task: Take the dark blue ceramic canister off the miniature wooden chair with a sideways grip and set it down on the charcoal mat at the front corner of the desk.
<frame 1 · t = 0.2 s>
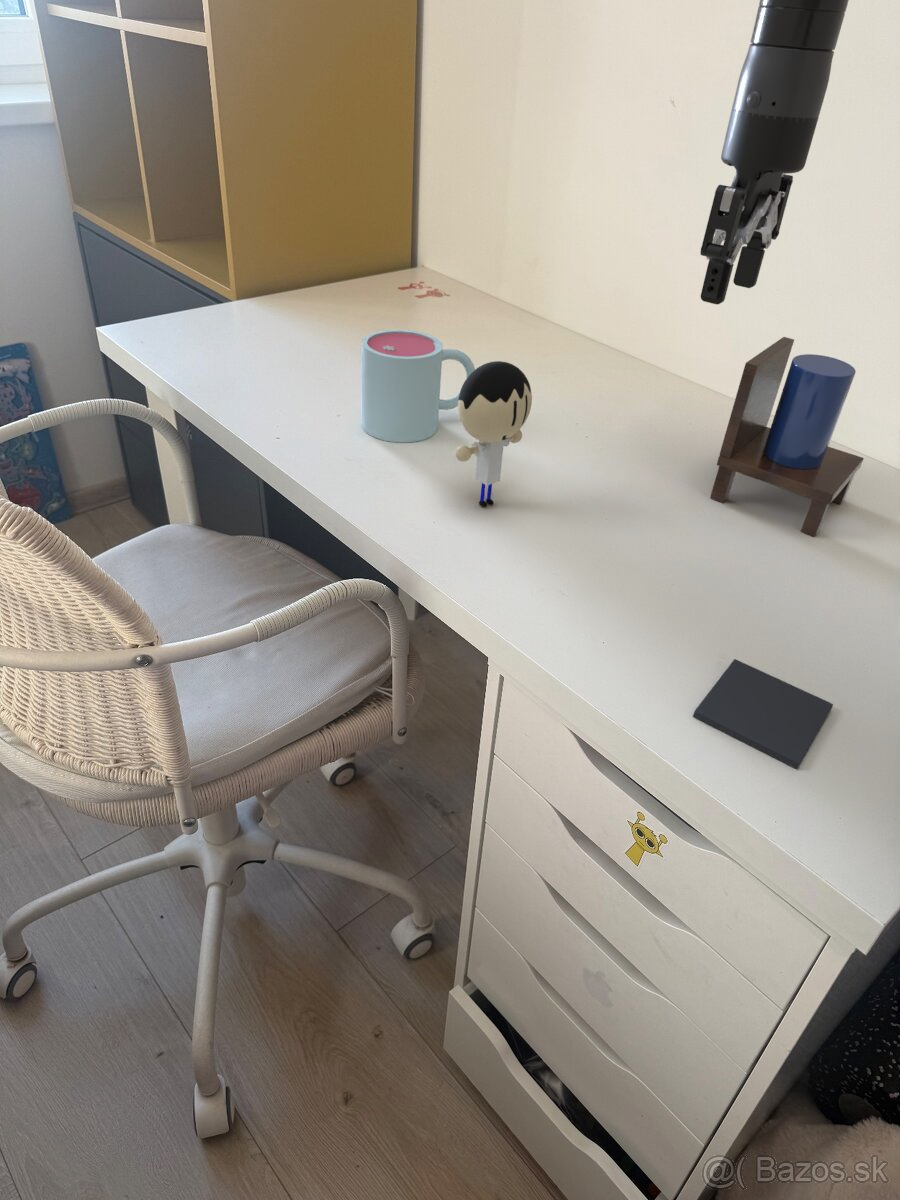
hand: (728, 293, 83), 20 cm above the table, tool pointing down, fingers open, 8 cm apart
toy: (484, 505, 86), on the table
mug: (418, 425, 100), on the table
mat: (762, 713, 63), on the table
canister: (792, 456, 88), point 5 cm above the table, touching miniature wooden chair
miniature wooden chair: (777, 499, 91), on the table
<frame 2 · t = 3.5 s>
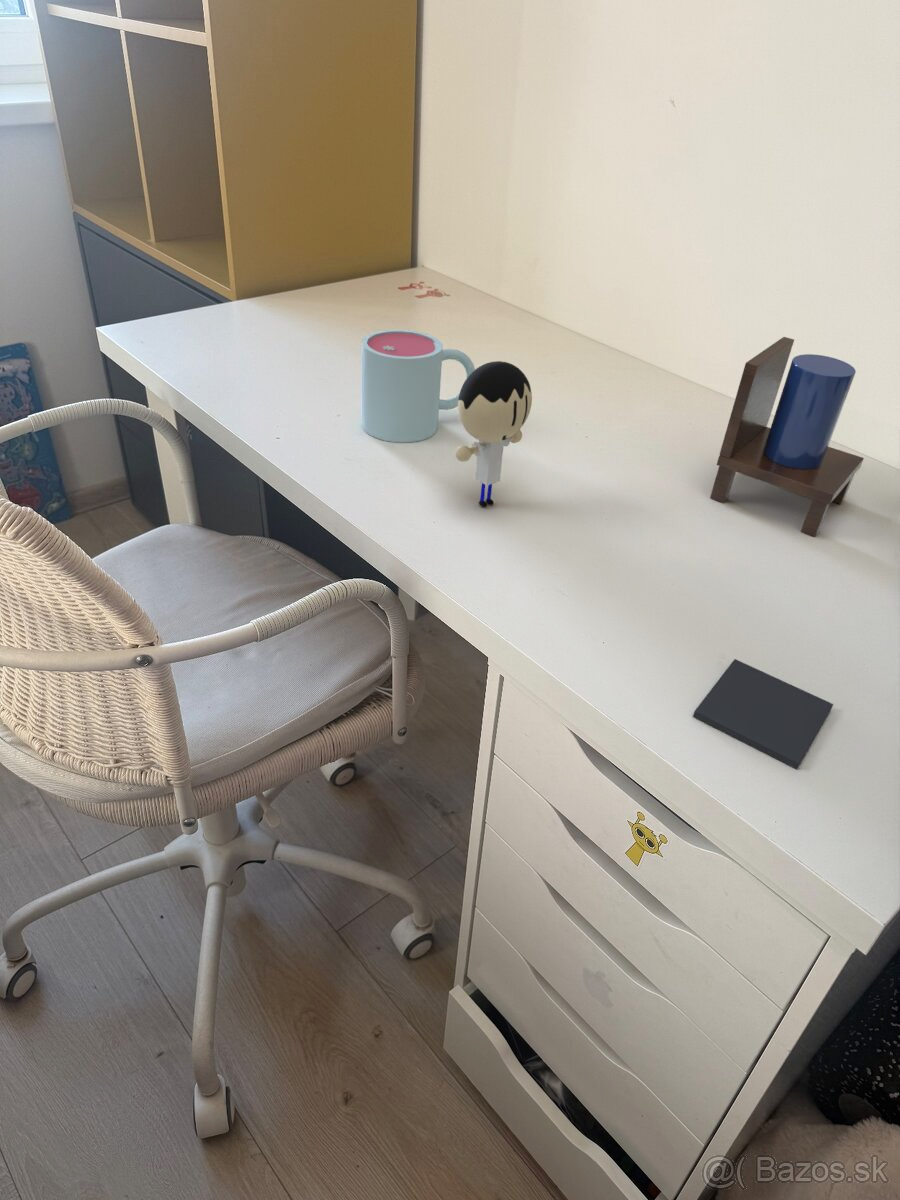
nothing on the table moved.
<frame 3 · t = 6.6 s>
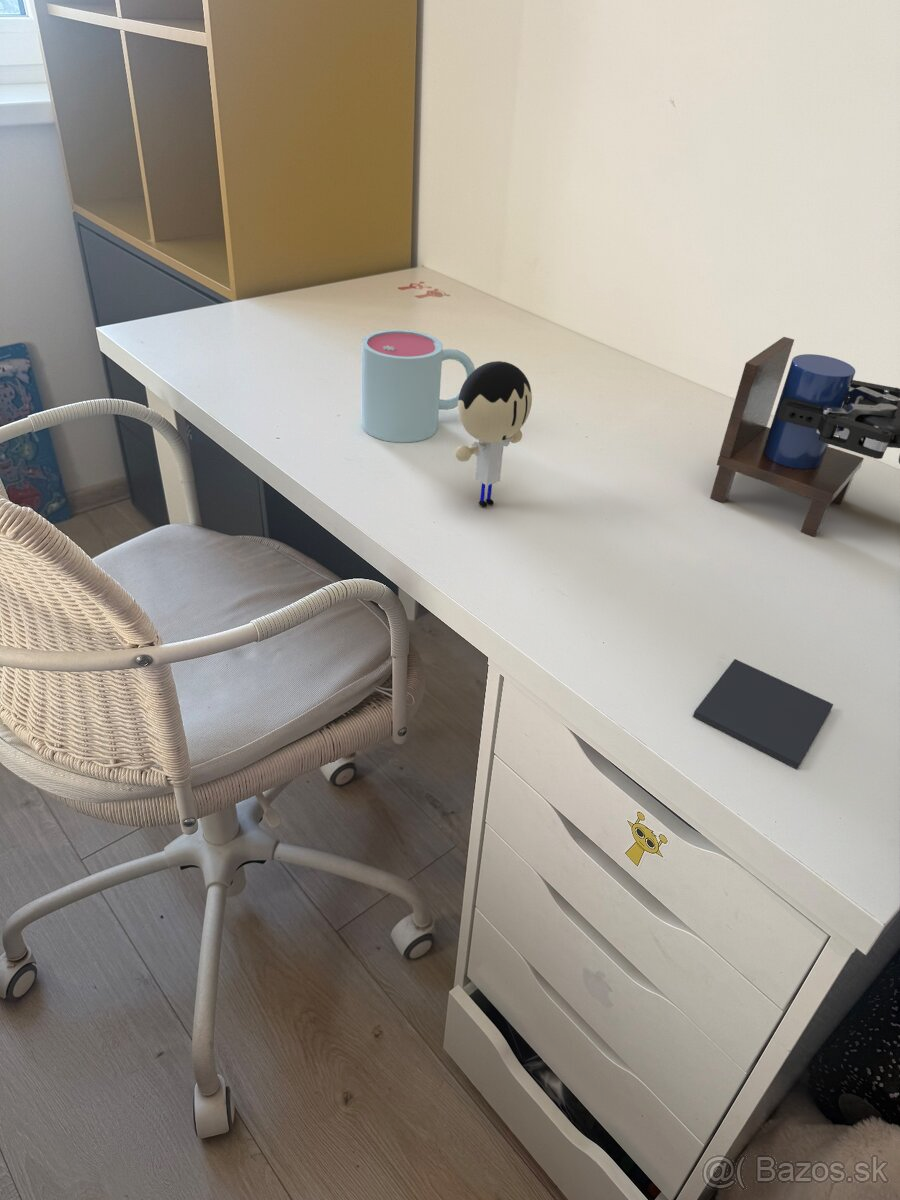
hand: (786, 397, 85), 11 cm above the table, tool horizontal, fingers closed on canister, 6 cm apart
canister: (792, 456, 88), point 5 cm above the table, touching gripper, miniature wooden chair
everything else where it was.
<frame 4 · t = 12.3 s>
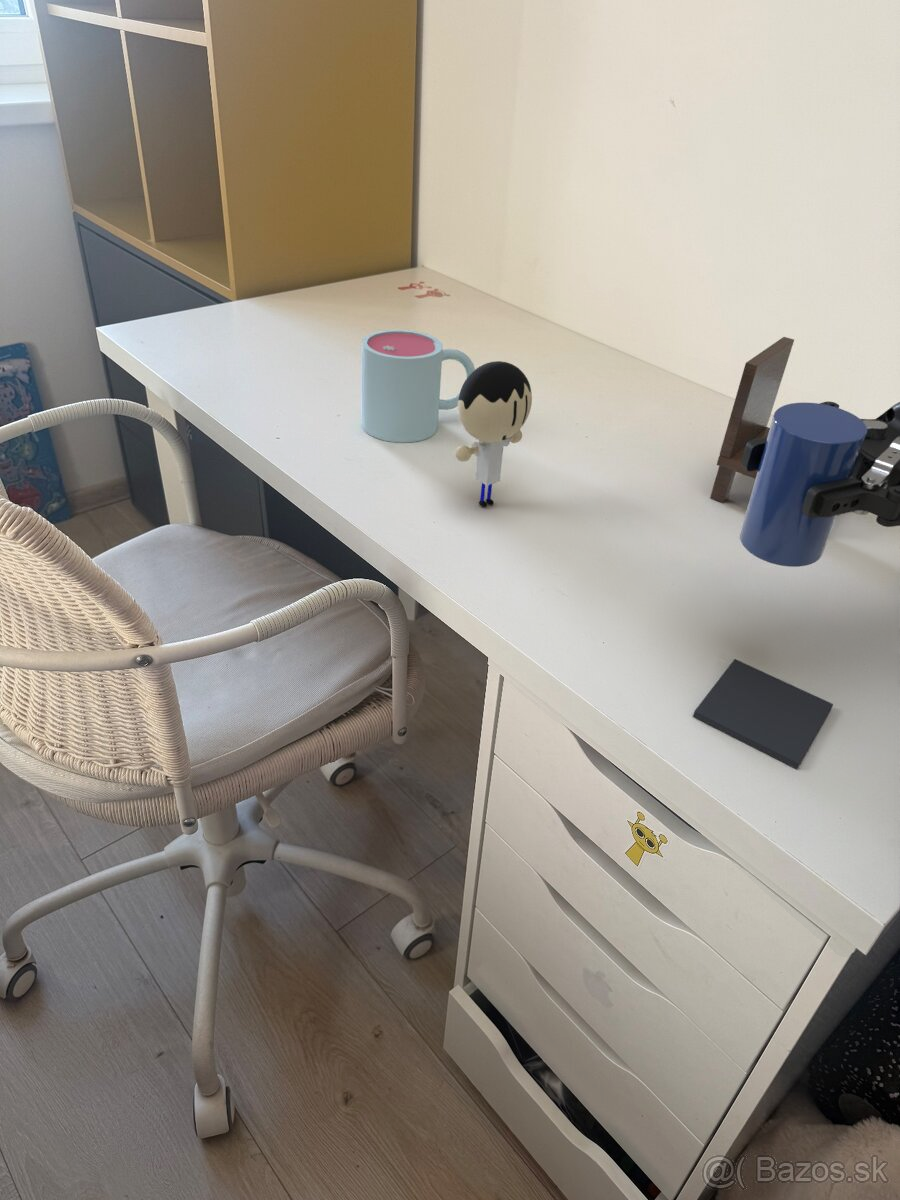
hand: (776, 479, 58), 17 cm above the table, tool horizontal, fingers closed on canister, 6 cm apart
canister: (780, 543, 62), point 11 cm above the table, touching gripper
everything else where it was.
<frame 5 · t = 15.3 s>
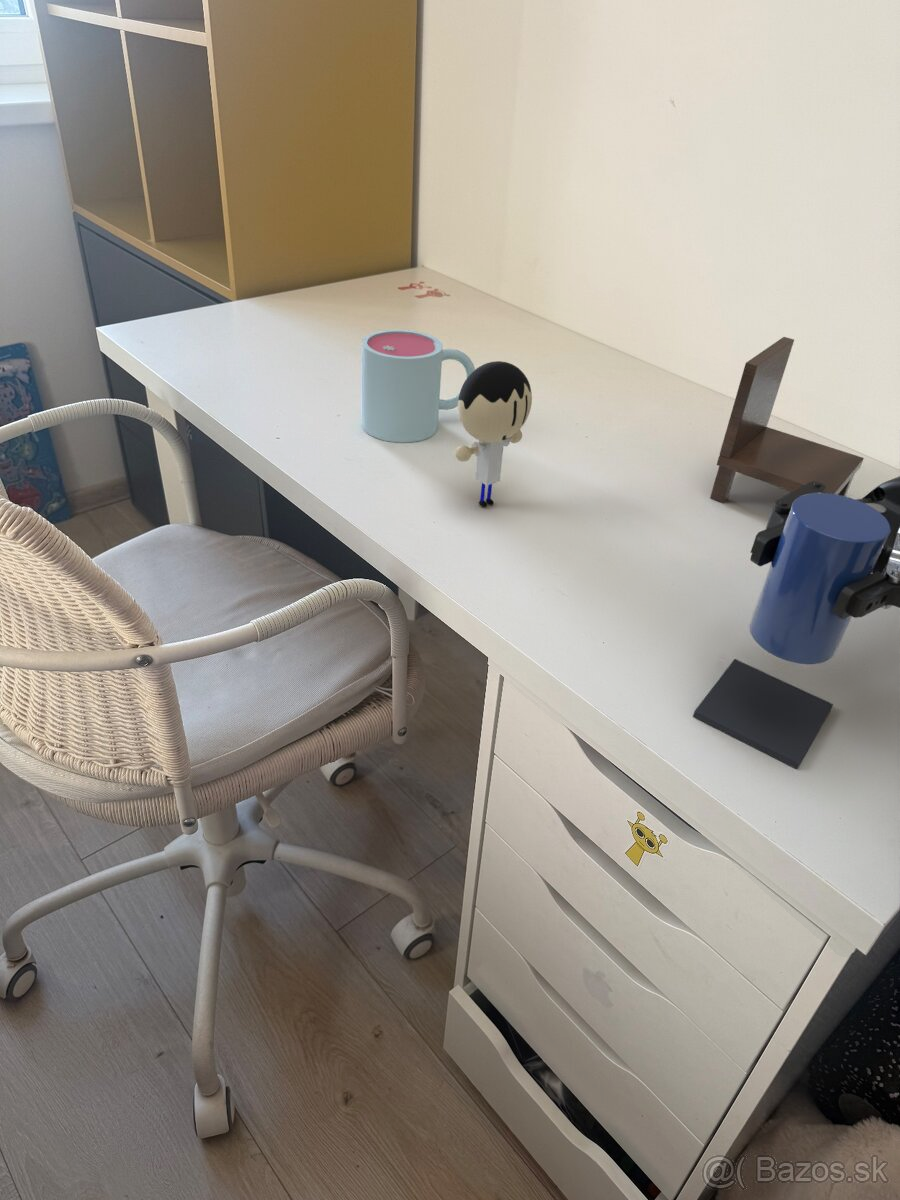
hand: (798, 577, 54), 13 cm above the table, tool horizontal, fingers closed on canister, 6 cm apart
canister: (792, 636, 59), point 7 cm above the table, touching gripper
everything else where it was.
when the fingers open (7 cm above the table, at t = 17.8 s): canister stays where it is, resting on mat.
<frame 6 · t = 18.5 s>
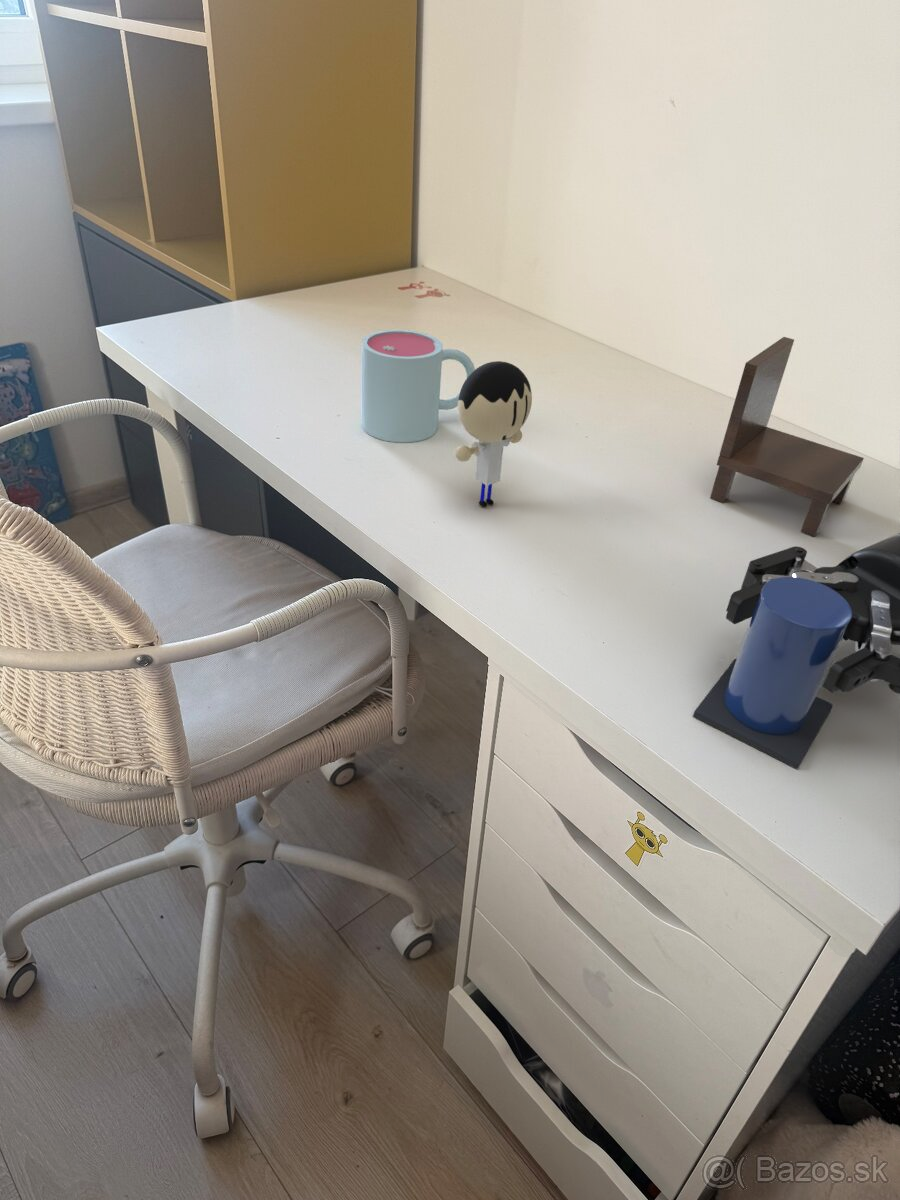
hand: (779, 644, 58), 7 cm above the table, tool horizontal, fingers open, 8 cm apart
canister: (764, 706, 63), point 1 cm above the table, touching mat
everything else where it was.
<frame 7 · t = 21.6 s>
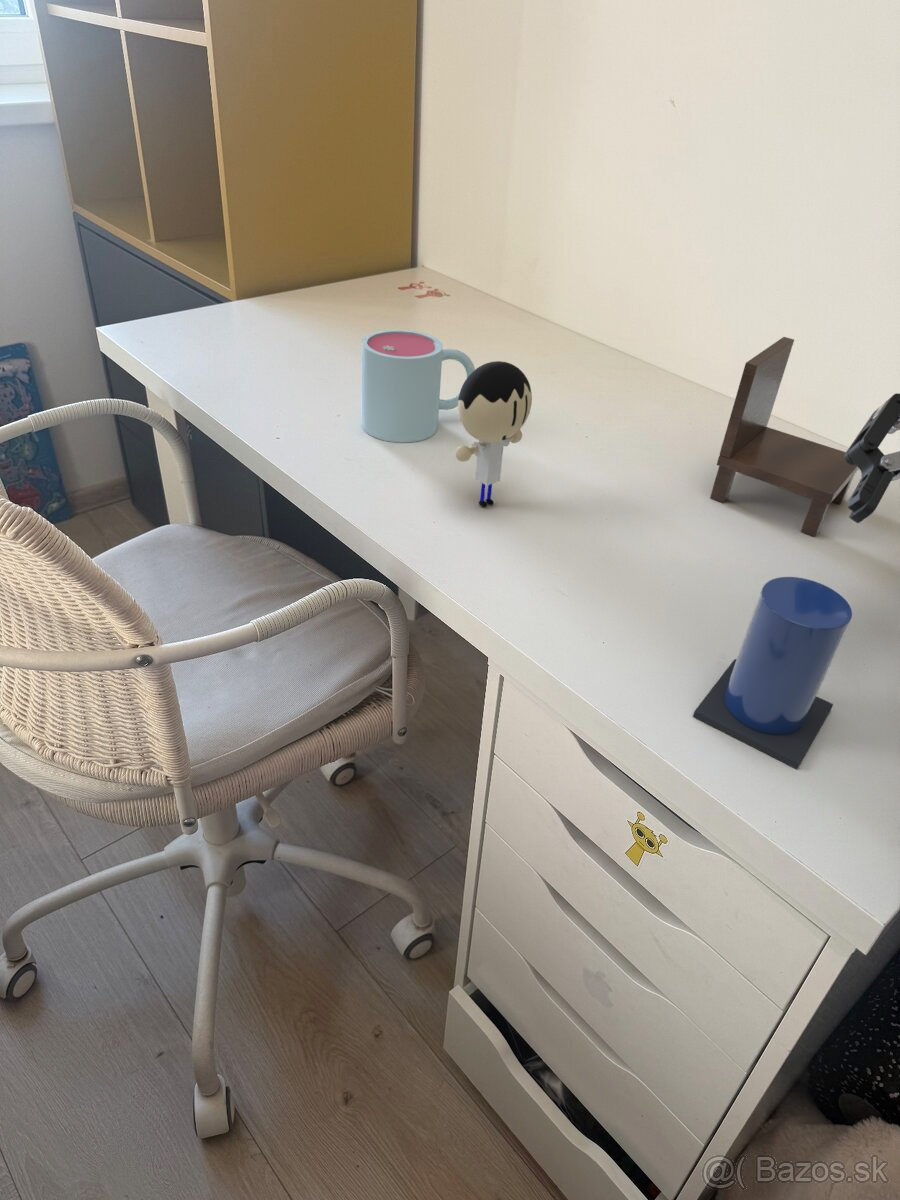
nothing on the table moved.
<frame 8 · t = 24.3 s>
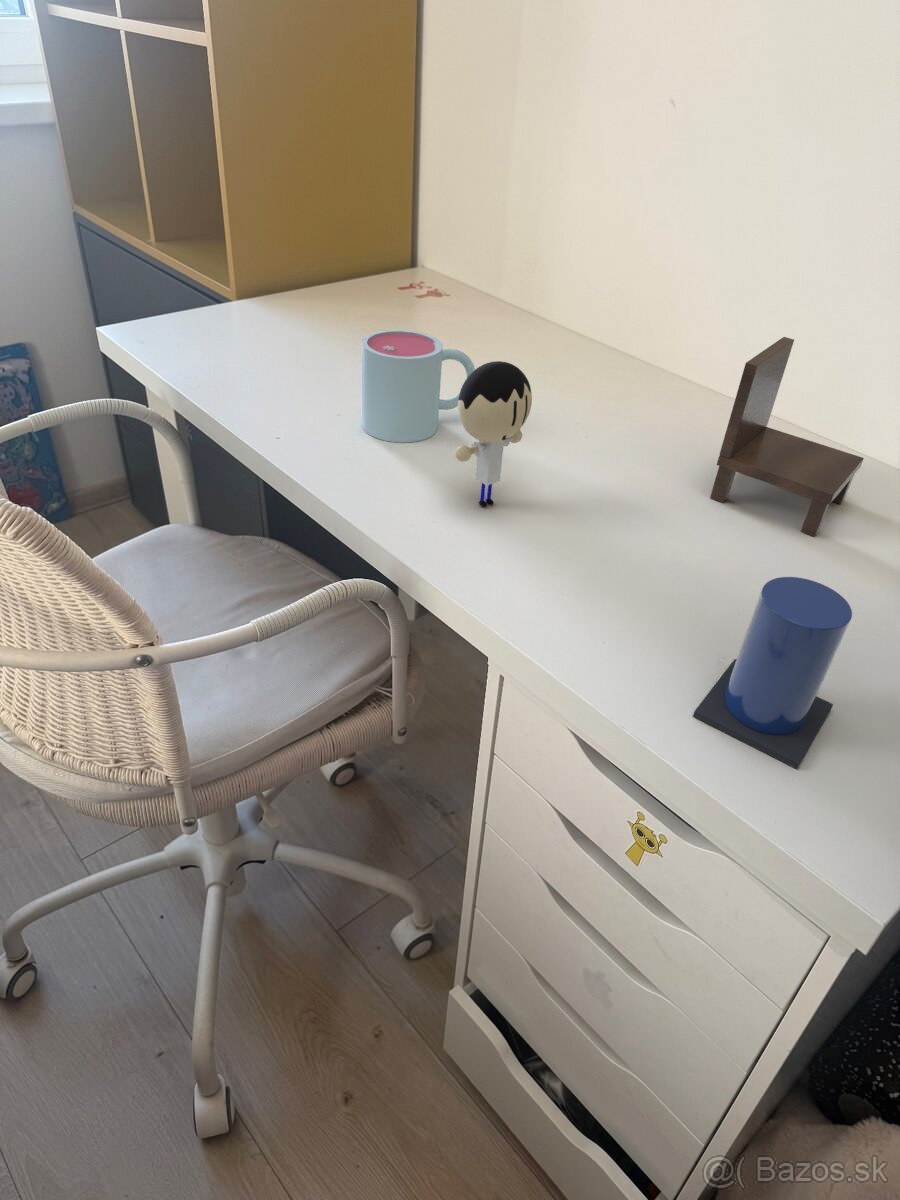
nothing on the table moved.
at the end: canister inside the target area on the mat (0.1 cm from its centre), point 0.6 cm above the mat's base; canister tilted 0°; the gripper is holding nothing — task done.
